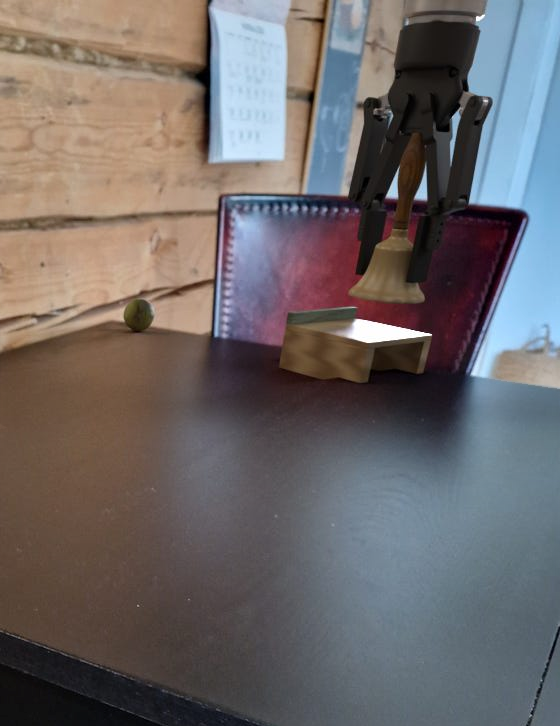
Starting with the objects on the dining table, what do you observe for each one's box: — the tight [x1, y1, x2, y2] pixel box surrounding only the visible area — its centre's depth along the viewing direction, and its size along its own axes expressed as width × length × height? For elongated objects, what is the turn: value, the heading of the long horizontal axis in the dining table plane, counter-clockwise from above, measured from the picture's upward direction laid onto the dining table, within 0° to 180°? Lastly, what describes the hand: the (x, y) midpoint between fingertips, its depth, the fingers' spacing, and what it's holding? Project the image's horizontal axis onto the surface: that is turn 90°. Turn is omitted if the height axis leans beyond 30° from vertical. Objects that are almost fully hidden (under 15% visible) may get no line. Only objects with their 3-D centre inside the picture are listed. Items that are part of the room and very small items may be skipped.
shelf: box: [278, 306, 433, 384], centre depth 119 cm, size 14×14×8 cm
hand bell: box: [347, 133, 426, 305], centre depth 92 cm, size 8×8×16 cm
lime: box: [122, 298, 155, 332], centre depth 139 cm, size 4×5×5 cm
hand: (390, 277), depth 95 cm, fingers closed on hand bell, 6 cm apart
